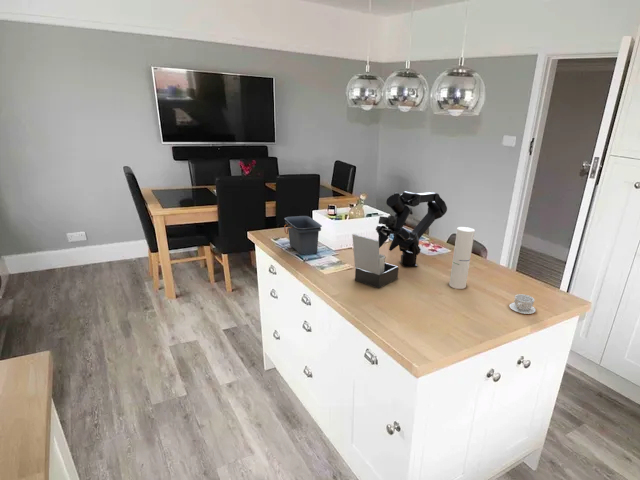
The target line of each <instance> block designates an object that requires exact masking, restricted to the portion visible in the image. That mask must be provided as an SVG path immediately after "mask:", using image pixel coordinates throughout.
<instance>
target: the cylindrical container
mask: <svg viewBox="0 0 640 480" xmlns="http://www.w3.org/2000/svg"><path fill="white" fill-rule="evenodd" d="M475 232H476V229H475V228H472V227H467V226H457V228H456V234H455V242H454V247H453V248H454V249H453V255H452V263H451V269H450V277H449V284H448V285H449V287H450V288H453V289H457V290H463V289H466V287H467V281H468V275H469V269H470V264H471V256H472V251H473V244H474V237H475Z"/></svg>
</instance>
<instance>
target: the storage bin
mask: <svg viewBox="0 0 640 480" xmlns="http://www.w3.org/2000/svg"><path fill="white" fill-rule="evenodd" d="M284 220H285V222H284V223H285V225H284V233H285V234H286V235H288V241H289V245H290V246H291V247H292V248H293V249H294V250H295V251H296V252H298V253H299V254H300V255H302V256H305V255H313V254H317V253H318V248H319V247H318V245H319V233H320V231H322V227H323V225H322V224H320V222H318V221H316V220H315V219H313V218H312V217H310V216H308V215H299V216H298V215H297V216H295V215H294V216H287V217H284ZM286 226H287V228H286Z"/></svg>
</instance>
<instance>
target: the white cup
mask: <svg viewBox="0 0 640 480" xmlns="http://www.w3.org/2000/svg"><path fill="white" fill-rule="evenodd" d="M379 258H380V274H382V273H384V268H385V263H386V256H385V254H383V253H379Z"/></svg>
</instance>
